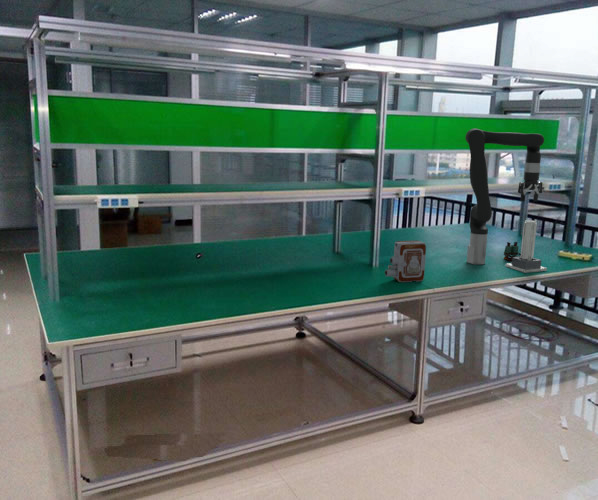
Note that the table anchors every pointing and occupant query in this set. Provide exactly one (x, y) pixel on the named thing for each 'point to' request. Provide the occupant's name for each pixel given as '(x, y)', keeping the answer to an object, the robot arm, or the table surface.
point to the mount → (526, 265)
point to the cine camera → (408, 261)
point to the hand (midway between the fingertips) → (528, 201)
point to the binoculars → (511, 251)
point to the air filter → (528, 240)
